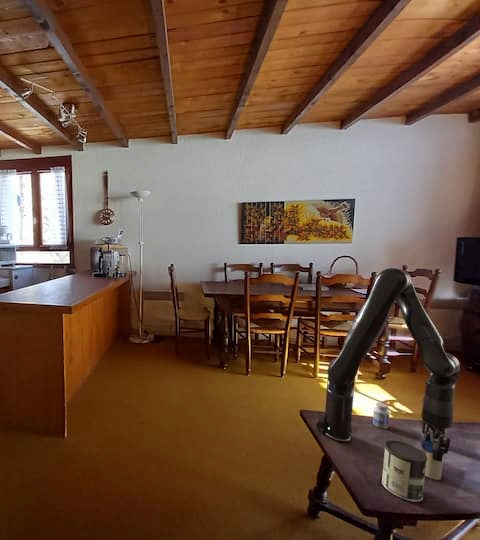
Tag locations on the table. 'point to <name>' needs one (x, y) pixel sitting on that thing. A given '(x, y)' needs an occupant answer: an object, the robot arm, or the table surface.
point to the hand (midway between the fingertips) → (432, 454)
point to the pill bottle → (381, 415)
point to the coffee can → (404, 470)
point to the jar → (433, 466)
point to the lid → (428, 446)
